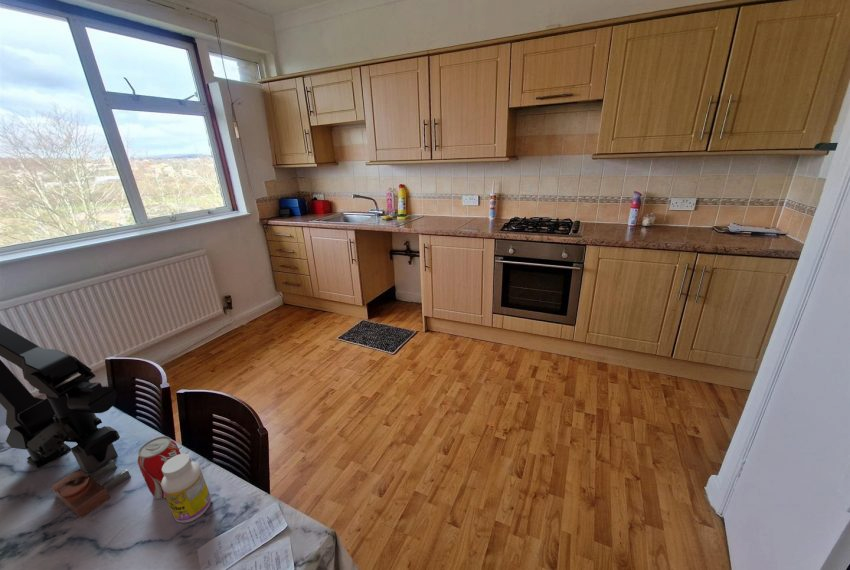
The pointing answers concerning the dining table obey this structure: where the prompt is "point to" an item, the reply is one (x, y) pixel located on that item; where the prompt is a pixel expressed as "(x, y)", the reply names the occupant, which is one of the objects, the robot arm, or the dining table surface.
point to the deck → (88, 488)
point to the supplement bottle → (185, 488)
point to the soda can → (156, 462)
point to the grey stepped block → (92, 458)
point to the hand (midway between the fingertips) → (97, 457)
